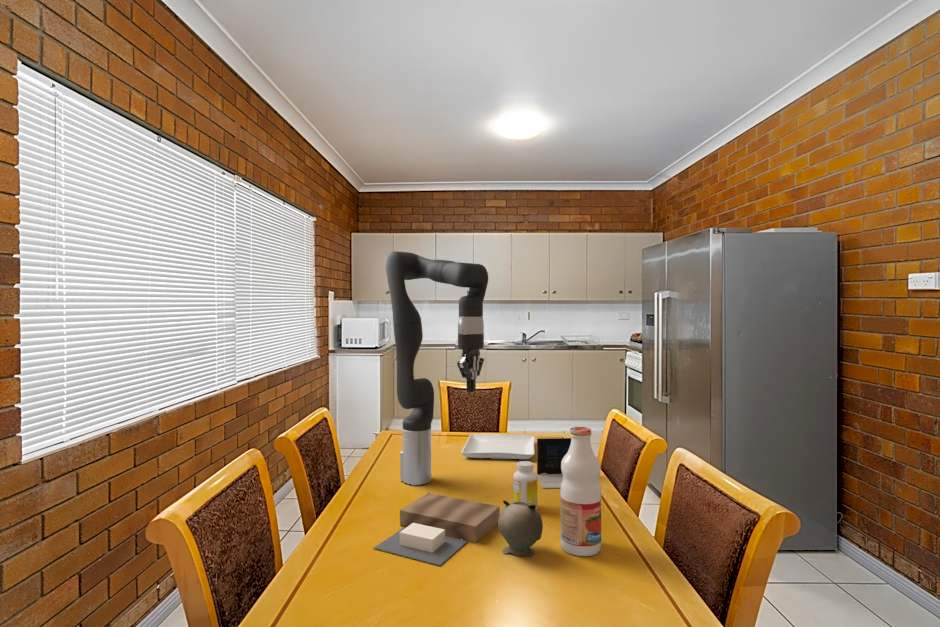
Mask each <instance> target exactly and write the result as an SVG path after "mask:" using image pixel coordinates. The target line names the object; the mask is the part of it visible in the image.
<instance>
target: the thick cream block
mask: <svg viewBox="0 0 940 627" xmlns="http://www.w3.org/2000/svg"><path fill="white" fill-rule="evenodd" d="M443 543H445V529H440V528H436V527H431V526H426V525H421V524H417V523H412V524H411V525H409V526H408V527H406V528H405V529H404V530H402V531H401V532H400V545H402V546H406V547H411V548H415V549H419V550H423V551H427V552H432V553H433V552H434V551H435V550H436V549H437V548H439V547H440V546H441V545H442V544H443Z"/></svg>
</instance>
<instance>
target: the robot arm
mask: <svg viewBox="0 0 940 627" xmlns="http://www.w3.org/2000/svg"><path fill="white" fill-rule="evenodd" d="M385 273H386V278H387V283H388V290H389V294H390V302H391V310H392V324H393V325H392V326H393V334H394V345H395V356H396V358H395V359H396V396H397V400H398V403H399V405H400V407H402V408H403V409H405V410H410V409H411V410H412V412H411V413H410V414H408V415H407V416H406V417H404V418H403V421H402V450H401V451H400V453H399V455H400V456H399V458H400V459H399V461H400V462H399V467H400V468H399V469H400V470H399V471H400V474H399V478H400V480H401V481H400V482H402V481H404V482H405V483H407V484H406V485H409V484H411V486H421V485H422V484H423V485H427V484H429V483H431V481H432V423H433V419H434V409H435V408H434V407H435V406H434V404H435V390H434V386H433V384H432V381H431V380H429V378H424V377H422V378H415V375H414V374H415V373H414V368H415V367H414V366H415V361H416V358H417V355H418V353H419V350H420V348H421V345H422V342H423V336H424V335H423V324H422V317H421V315H420V314H419V311H418V309H417V308H416V306H415V305H414V303H413V301H412V300H411V299H410V297H409V294H408V292H407V288H406V283H405V282H406V281H411V280H417V279H429V280H431V281H433V282H434V283H440V284H446V285H451V286H455V287H459V288H469V289H468V292H467V294H466V295H463V296H461V297H460V298H459V300H458V322H457V348H458V349H459V350H461V359H460V361H459V360H458V361H456V362H457V363H456V366H457V368H458V369H459V372H460V375H461V377H462V378H464V379H465V380H466V392H467V393H475V392H476V391H477V390H476V389H477V388H476V386H477V385H476V379H477V378H478V377H479V376H480V374H481V371H482V367H483V365H484V361H485V359H484V357H481V352H480V350H483V349H484V347H485V335H484V334H485V332H484V331H485V326H484V325H485V324H484V309H483V308H484V304H483V303H484V300H485V296H486V292H487V288H488V284H489V273H488V271H487V268H486V267H485V266H484V265H483V264H480V263H472V262H459V261H458V262H456V261H453V260H447V259H430V258H426V257H423V256H421V255H418V254H416V253H414V252H408V251H407V252H405V251H391V252H389V254H387V256H386V259H385ZM404 482H403V483H404ZM405 483H404V484H405ZM426 483H427V484H426Z"/></svg>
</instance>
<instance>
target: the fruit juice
mask: <svg viewBox="0 0 940 627" xmlns="http://www.w3.org/2000/svg"><path fill="white" fill-rule="evenodd" d="M569 435H570V438H571V444H570V447H569V450H568V452H567V454H566V455H565V456H564V457H563V459H562V462H561V471H562V474H561V475H563V480H562V482H561V488H559V489H560V492H559V494H560V495H559V496H560V497H559V498H560V506H559V508H560V509H559V510H560V511H559V512H560V522H559V523H560V531H559V532H560V534H559V535H560V538H559V539H560V545H561V548H562V550H564V552H566V553H568V554H570V555H573V556H578V557H591V556H592V557H593V556H595V555H597V554H599V553H600V551H601V548H602V488H601V486H602V485H601V483H600V480H599V479H600V475H601V470H602V468H601V467H602V466H601V462H600V460H599V458H598V457H597V456H596V454H595V453H594V451H593V449H592V444H591V438H592V429H591V428H589V427H585V426H572V427H570V428H569Z"/></svg>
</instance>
